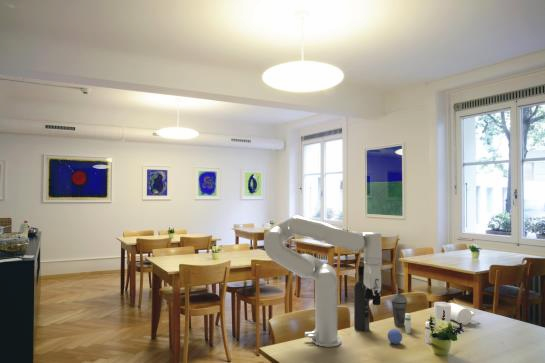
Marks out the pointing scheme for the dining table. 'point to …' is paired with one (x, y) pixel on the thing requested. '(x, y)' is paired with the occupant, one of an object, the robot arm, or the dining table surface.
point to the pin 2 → (427, 333)
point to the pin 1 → (407, 323)
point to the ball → (395, 336)
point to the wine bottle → (361, 303)
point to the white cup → (439, 310)
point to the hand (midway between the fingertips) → (373, 301)
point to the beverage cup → (399, 308)
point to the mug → (461, 314)
